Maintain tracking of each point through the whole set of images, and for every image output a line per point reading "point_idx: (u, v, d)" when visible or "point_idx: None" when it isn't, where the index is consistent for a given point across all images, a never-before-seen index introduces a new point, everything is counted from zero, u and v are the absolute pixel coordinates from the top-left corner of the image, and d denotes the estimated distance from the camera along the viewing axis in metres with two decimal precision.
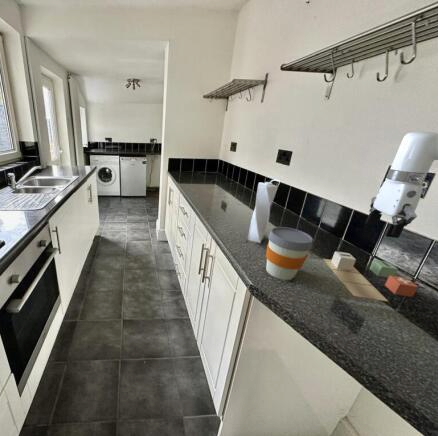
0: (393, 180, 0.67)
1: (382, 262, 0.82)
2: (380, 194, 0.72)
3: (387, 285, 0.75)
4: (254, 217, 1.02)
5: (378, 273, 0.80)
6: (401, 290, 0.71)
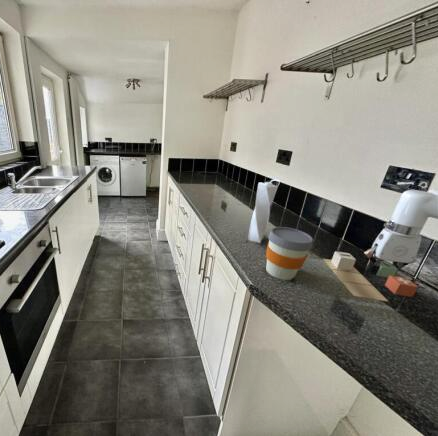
0: None
1: (382, 262, 0.82)
2: None
3: (387, 285, 0.75)
4: (254, 217, 1.02)
5: (378, 273, 0.80)
6: (401, 290, 0.71)
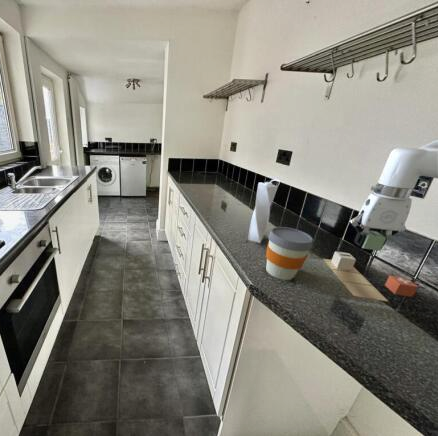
0: None
1: (369, 232, 0.74)
2: None
3: (387, 285, 0.75)
4: (254, 217, 1.02)
5: (365, 243, 0.73)
6: (401, 290, 0.71)
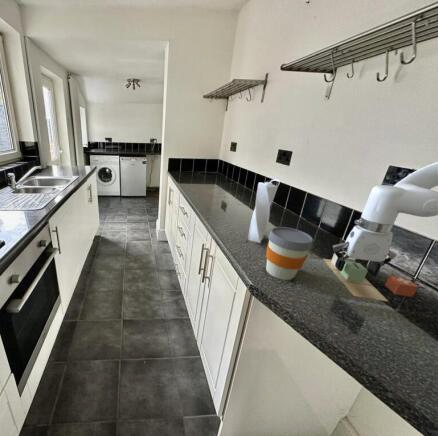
0: None
1: (353, 263, 0.79)
2: None
3: (387, 285, 0.75)
4: (254, 217, 1.02)
5: (348, 275, 0.77)
6: (401, 290, 0.71)
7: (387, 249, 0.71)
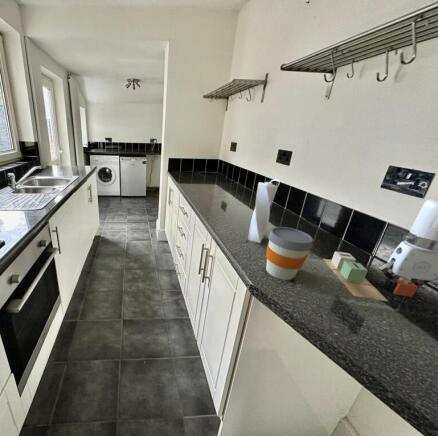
0: None
1: (353, 263, 0.79)
2: None
3: None
4: (254, 217, 1.02)
5: (348, 275, 0.77)
6: (401, 290, 0.71)
7: None
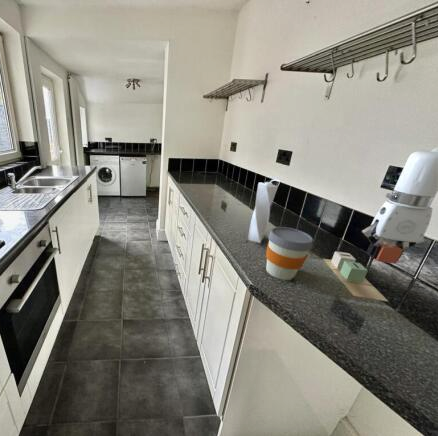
0: None
1: (353, 263, 0.79)
2: None
3: None
4: (254, 217, 1.02)
5: (348, 275, 0.77)
6: (385, 254, 0.66)
7: (425, 227, 0.61)
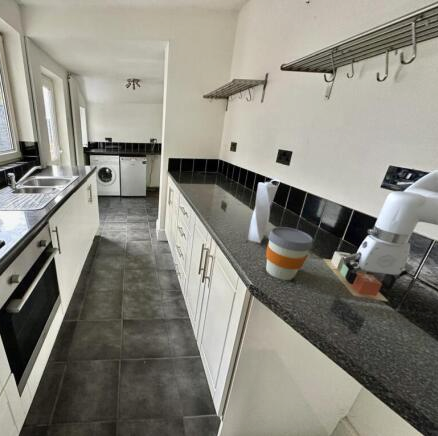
0: None
1: None
2: None
3: None
4: (254, 217, 1.02)
5: None
6: (366, 287, 0.70)
7: (404, 261, 0.65)
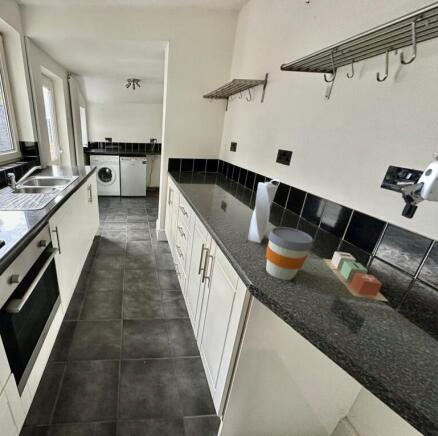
0: None
1: (353, 263, 0.79)
2: None
3: (353, 282, 0.74)
4: (254, 217, 1.02)
5: (348, 275, 0.77)
6: (366, 287, 0.70)
7: None
